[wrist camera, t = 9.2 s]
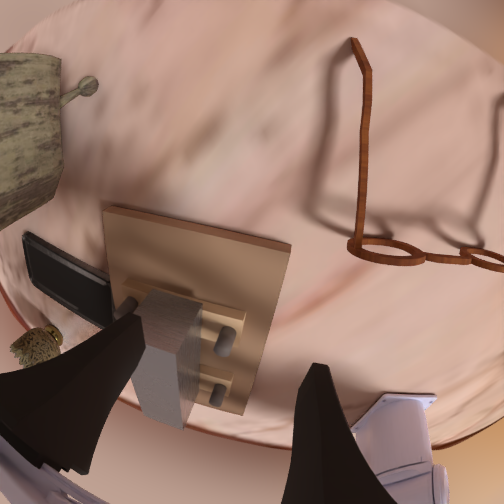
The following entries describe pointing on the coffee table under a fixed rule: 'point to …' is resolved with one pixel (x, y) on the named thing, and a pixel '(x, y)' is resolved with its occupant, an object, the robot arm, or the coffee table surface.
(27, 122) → the tabletop clock
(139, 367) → the metal bar
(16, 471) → the robot arm
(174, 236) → the peg rack
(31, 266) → the phone
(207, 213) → the coffee table surface
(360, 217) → the glasses
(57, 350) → the cup
